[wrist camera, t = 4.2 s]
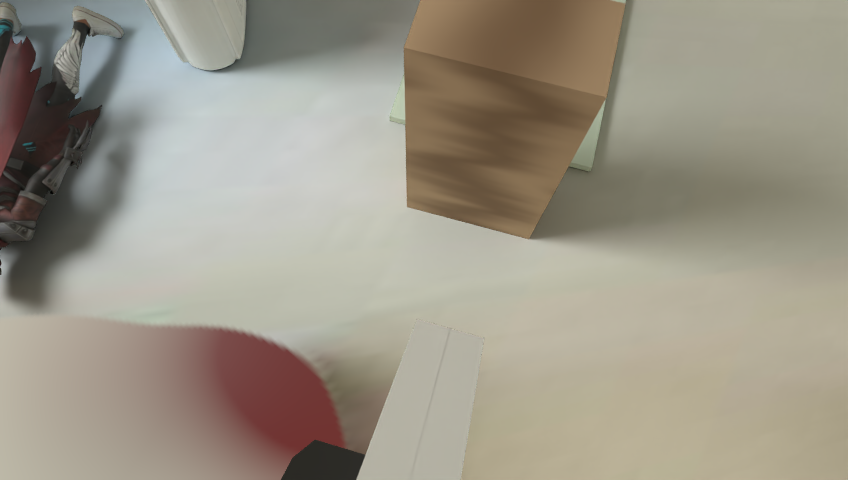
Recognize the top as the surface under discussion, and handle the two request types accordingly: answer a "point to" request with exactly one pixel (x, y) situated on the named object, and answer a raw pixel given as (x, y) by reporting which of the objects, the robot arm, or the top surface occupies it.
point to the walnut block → (502, 103)
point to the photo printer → (203, 30)
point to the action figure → (40, 120)
